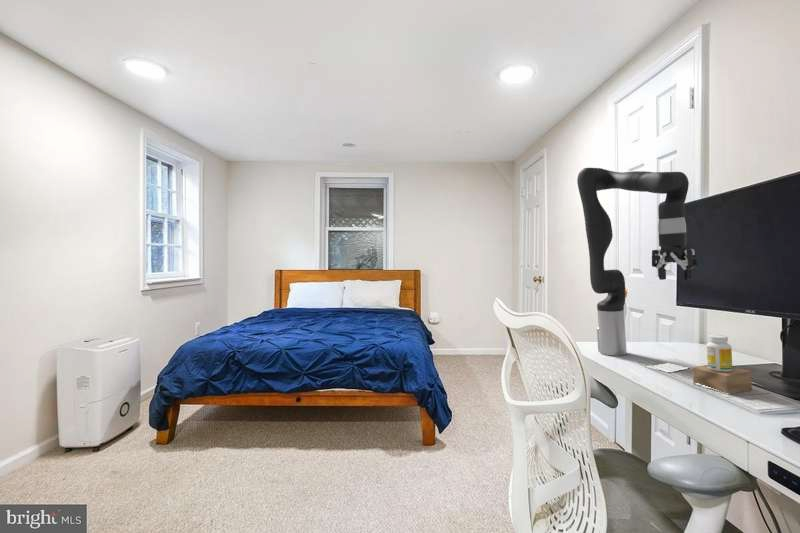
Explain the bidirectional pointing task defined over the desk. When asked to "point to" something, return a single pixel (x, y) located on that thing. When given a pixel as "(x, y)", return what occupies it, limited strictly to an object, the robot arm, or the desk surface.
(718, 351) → the supplement bottle
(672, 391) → the desk surface
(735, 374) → the walnut block
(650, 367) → the page
